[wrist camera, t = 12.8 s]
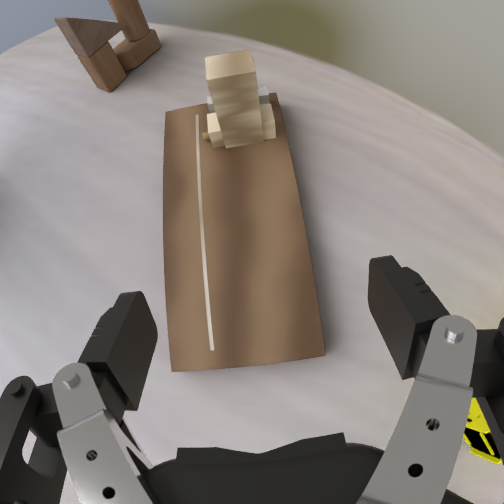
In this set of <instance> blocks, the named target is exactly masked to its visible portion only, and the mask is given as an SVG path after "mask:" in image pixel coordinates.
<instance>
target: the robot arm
mask: <svg viewBox="0 0 504 504" xmlns="http://www.w3.org/2000/svg"><path fill="white" fill-rule="evenodd" d="M368 303H369V308H370V312H371V314H372V316H373V318H374V320H375V322H376V324H377V326H378V328H379V330H380V332H381V334H382V336H383V339H384V341H385V343H386V345H387V347H388V349H389V351H390V353H391V356H392V358H393V360H394V362H395V364H396V367H397V369H398V371H399V373H400V375H401V378H402V380H404V379H408V378H412V377H414V378H415V381H414V383H413V386H412V389H411V392H410V394H409V397H408V399H407V402H406V404H405V407H404V409H403V412H402V414H401V417H400V419H399V421H398V424H397V426H396V428H395V430H394V433H393V435H392V437H391V439H390V441H389V444H388V446H387V448H386V450H385V451H383V450H381V449H379V448H376V447H373V446H369V445H364V444H358V443H346V441H345V437H344V433H343V432H342V433H337V434H332V435H326V436H321V437H315V438H308V439H302V440H299V441H297V442H294V443H291V444H288V445H285V446H282V447H280V448H277V449H274V450H271V451H267V452H264V453H260V454H255V453H247V452H241V451H235V450H229V449H223V448H218V447H210V448H178V450H177V457H176V459H172V460H169V461H166V462H163V463H161V464H159V465H156V466H153V465H152V464H151V463H150V461H149V460H148V458H147V457H146V455H145V454H144V452H143V450H142V449H141V447H140V445H139V443H138V442H137V440H136V438H135V437H134V435H133V433H132V431H131V429H130V428H129V426H128V424H127V422H126V421H125V419H124V418H123V415H124V411H125V410H130V411H137V410H138V407H139V403H140V399H141V395H142V392H143V388H144V384H145V381H146V377H147V374H148V370H149V367H150V363H151V360H152V356H153V353H154V350H155V346H156V343H157V338H158V333H157V327H156V324H155V321H154V319H153V316H152V314H151V311H150V309H149V306H148V304H147V301H146V299H145V296H144V294H143V293H142V292H141V291H135V292H127V293H121V294H120V295H119V297H118V299H117V301H116V302H115V304H114V306H113V308H110V309H109V310H108V311H107V312H106V313H105V314H104V315H102V316H101V318H100V320H99V322H98V323H97V325H96V329H94V331H93V333H92V337H90V339H89V341H88V343H87V345H86V347H85V348H84V350H83V352H82V354H81V356H80V359H79V361H78V363H73V364H70V365H67V366H65V367H64V368H62V369H61V370H60V371H59V372H58V373H57V374H56V376H55V377H54V379H53V383H50V384H46V385H41V386H36V384H35V383H34V382H33V380H32V379H31V378H30V377H28V376H20V377H17V378H15V379H14V380H12V381H11V382H10V383H9V384H8V385H7V386H6V388H5V390H4V392H3V393H2V395H1V397H0V504H59V503H60V498H61V494H62V489H63V485H64V481H65V477H66V472H67V469H68V472H69V475H70V477H71V480H72V483H73V485H74V488H75V490H76V493H77V495H78V498H79V500H80V503H81V504H473V503H471V502H469V501H467V500H466V499H464V498H462V497H460V496H458V495H457V494H455V493H453V492H451V491H450V490H448V489H446V488H447V485H448V483H449V480H450V477H451V474H452V471H453V468H454V465H455V462H456V459H457V456H458V452H459V449H460V445H461V442H462V438H463V435H464V431H465V427H466V423H467V419H468V414H469V410H470V405H471V400H472V398H476V400H477V402H478V404H479V407H480V409H481V411H482V413H483V415H484V418H485V420H486V422H487V424H488V427H489V429H490V432H491V434H492V436H493V439H494V441H495V444H496V446H497V449H498V451H499V454H500V457H501V459H502V462H503V465H504V317H503V318H502V320H501V321H500V324H499V327H498V329H488V330H476V328H475V327H474V325H473V324H472V323H471V322H470V321H468V320H467V319H465V318H463V317H460V316H455V315H450V314H449V312H448V311H447V310H446V308H445V307H444V306H443V304H442V303H441V302H440V300H439V299H438V298H437V296H436V295H435V294H434V293H433V291H431V289H430V287H429V286H428V285H427V284H425V281H424V280H423V279H422V277H421V276H420V275H419V274H418V273H417V272H415V271H413V270H412V269H410V268H408V267H403V268H402V267H401V266H400V265H399V264H398V262H397V261H396V260H395V258H394V257H393V256H392V255H389V256H383V257H377V258H372V259H371V260H370V263H369V284H368ZM29 430H30V431H31V432H32V433H33V434H34V435H35V436H36V437H37V439H36V442H35V445H34V448H33V451H32V454H31V457H30V460H29V463H28V464H27V463H26V462H25V461H24V459H23V456H22V449H23V446H24V443H25V440H26V437H27V435H28V432H29ZM503 504H504V503H503Z"/></svg>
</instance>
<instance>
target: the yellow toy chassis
mask: <svg viewBox="0 0 504 504" xmlns="http://www.w3.org/2000/svg"><path fill="white" fill-rule="evenodd" d="M463 437H464V439H465V440H466V442H467V444H468V445H471V446H472V447H473V448H472V449H471V450H470V452H471V453H473V454H475V455H477V456H479V457H482V458H484V459H486V460H488V461H490V462H493V463H495V464H497V465H498V464H499V463H501V462H502V459H501V457H500V454H499V451H498V449H497V446H496V444H495V441H494V439H493V436H492V434H491V432H490V429H489V427H488V424H487V422H486V420H485V418H484V415H483V413H482V411H481V409H480V407H479V404H478V402H477V400H476V398H472V400H471V405H470V410H469V414H468V419H467V423H466V427H465V431H464V435H463Z"/></svg>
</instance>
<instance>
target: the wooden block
mask: <svg viewBox="0 0 504 504" xmlns="http://www.w3.org/2000/svg"><path fill="white" fill-rule="evenodd" d="M108 1H109V4H110V6H111V8H112V10H113V12H114V15H115V17H116V19H117V21H118V23H116V22H108V21H99V20H89V19H77V18H54V20H55V21H56V23H57V24H58V26H59V28H60V30H61V31H62V33H63V34H64V36H65V38H66V39H67V41H68V42H69V44H70V46H71V47H72V49H73V50H74V52H75V54H76V55H78V58H79V60H80V61H81V63H82V64H83V66H84V67H85V69H86V71H87V72H88V74H89V75H90V77H91V78H92V80H93V81H94V83H95V85H96V86H97V88H100V89H102V90H105V91H108V92H111V91H113V90H114V89H115V88H116V87H117V86H118V85H119V84H120V83H121V82H122V81H123V80H124V79H125V78H126V77H127V75H126V73H125V71H128V70H131V69H134V68H136V67H138V66H139V65H140V64H141V63H142V62H143V61H145V60H146V59H147V58H148V57H149V56H150V55H152V54H153V53H154V52H155V51H156V50H158V49H159V48H160V47H161V44H160V41H159V39H158V36H157V34H156V31H155V30H153V29H149V27H148V24H147V22H146V19H145V17H144V14H143V12H142V9H141V7H140V4H139V2H138V0H108ZM121 30H122V31H123V34H124V36H125V38H126V39H125V40H124V41H122V42H121V43H120V44H119V45H117V46H116V47H115V48H114V49H112V47H111V45H110V43H109V42H108V40H110V39H111V38H112V37H113V36H115V35H116V34H117V33H118V32H120V31H121Z"/></svg>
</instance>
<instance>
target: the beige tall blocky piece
mask: <svg viewBox="0 0 504 504" xmlns="http://www.w3.org/2000/svg"><path fill="white" fill-rule="evenodd" d="M205 68H206V81H207V85H208V88H209V91H210V95H211V98H212V102H213V105H214V109H215V113H210V114H207V124H208V132H205V133H202V135H203V140H206V139H210V140H211V143H212V146H213V148H217V147H223V146H226V148H231V147H237V146H243V145H249V144H256V143H262V142H264V140H265V139H272V138H276V129H275V120H274V115H273V111H272V107H271V104H264V105H260V104H259V96H258V88H257V80H256V72H255V67H254V63H253V59H252V54H251V50H244V51H237V52H231V53H225V54H220V55H214V56H209V57H205Z"/></svg>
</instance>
